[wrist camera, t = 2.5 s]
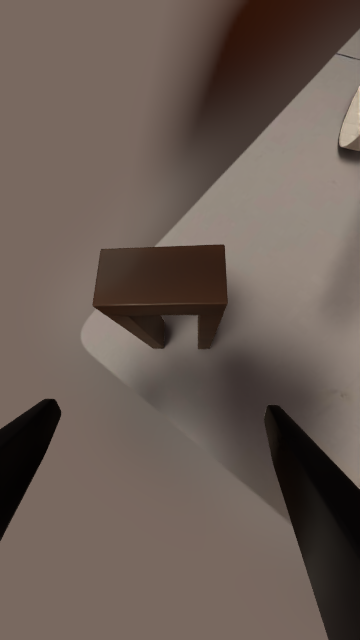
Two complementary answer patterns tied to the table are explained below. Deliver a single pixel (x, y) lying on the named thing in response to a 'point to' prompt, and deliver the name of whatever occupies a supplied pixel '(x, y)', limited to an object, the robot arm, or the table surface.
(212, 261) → the brown wooden arch
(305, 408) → the table surface
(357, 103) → the desk lamp
